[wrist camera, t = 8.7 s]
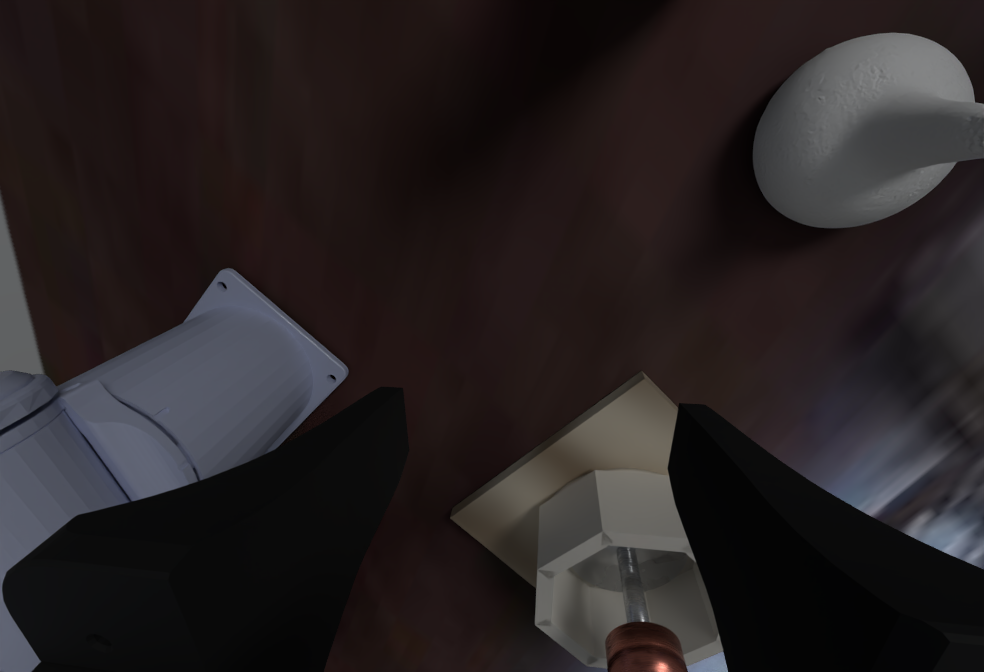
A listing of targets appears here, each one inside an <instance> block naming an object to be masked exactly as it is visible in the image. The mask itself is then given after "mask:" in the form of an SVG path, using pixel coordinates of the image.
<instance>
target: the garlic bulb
mask: <svg viewBox="0 0 984 672" xmlns="http://www.w3.org/2000/svg"><path fill="white" fill-rule="evenodd" d="M980 158H984V104H981V103H975V98H974V92H973V87H972V84H971V81H970V78H969V76H968V74H967V72H966V70H965V69H964V67H963V65H962V64H961V62H960V61H959V60H958V59H957V58H956V57H955V56H954V55H953V54H952V53H951V52H950V51H949V50H947V49H946V48H944V47H943V46H941V45H939V44H938V43H936V42H934V41H931V40H929V39H926V38H923V37H920V36H916V35H912V34H903V33H885V34H874V35H868V36H863V37H859V38H855V39H852V40H848V41H845V42H843V43H840V44H838V45H835V46H833V47H831V48H827V49H826V50H824V51H823V52H821V53H820V54H819V55H817V56H815V57H814V58H812V59H811V60H809V61H808V62H806V63H805V64H803V65H802V66H801V67H800V68H798V69H797V70H796V71H795V72H794V73H793V74H792V75H791V76H790V77H789V78H788V79H787V80H786V81H785V82H784V83H783V84H782V85H781V87H780V88H779V89H778V90H777V92H776V93H775V94H774V96H773V97H772V99H771V100H770V102H769V103H768V105H767V107H766V109H765V111H764V113H763V115H762V117H761V119H760V121H759V124H758V126H757V129H756V134H755V138H754V144H753V167H754V173H755V176H756V180H757V183H758V185H759V188H760V190H761V192H762V194H763V195H764V197H765V198H766V200H767V201H768V202H769V203H770V204H771V205H772V206H773V207H774V208H775V209H776V210H777V211H779V212H780V213H781V214H783V215H784V216H786V217H788V218H790V219H792V220H794V221H796V222H799V223H801V224H804V225H808V226H812V227H819V228H846V227H854V226H860V225H864V224H868V223H872V222H875V221H878V220H881V219H884V218H886V217H889V216H891V215H894V214H896V213H898V212H900V211H901V210H903V209H905V208H907V207H909V206H910V205H912V204H914V203H915V202H917V201H918V200H919V199H921V198H922V197H924V196H925V195H926V194H928V193H929V192H930V191H931V190H932V189H933V188H935V187H936V186H937V185H938V184H939V183H940V182H941V181H942V180H943V179H944V178H945V176H946V175H947V174H948V173H949V172H950V171H951V170H952V168H953V167H954V165H955V164H956V163H957V162H958V161H965V160H972V159H980Z"/></svg>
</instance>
